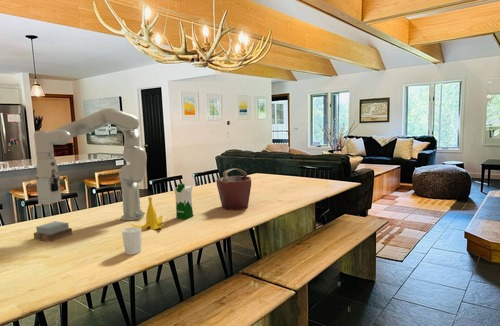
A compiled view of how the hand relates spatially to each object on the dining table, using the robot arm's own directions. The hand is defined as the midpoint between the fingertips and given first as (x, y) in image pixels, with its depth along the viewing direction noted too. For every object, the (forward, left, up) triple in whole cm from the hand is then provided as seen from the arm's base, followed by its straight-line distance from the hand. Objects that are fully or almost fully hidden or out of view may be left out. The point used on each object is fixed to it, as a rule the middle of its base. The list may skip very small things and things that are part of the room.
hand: (49, 190), depth 167 cm
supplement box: (0, 0, -6) cm, 6 cm away
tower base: (0, 0, -24) cm, 24 cm away
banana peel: (-36, -28, -24) cm, 52 cm away
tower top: (0, 0, -21) cm, 21 cm away
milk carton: (-44, -51, -24) cm, 71 cm away
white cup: (-54, +2, -24) cm, 59 cm away
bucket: (-61, -82, -24) cm, 105 cm away
